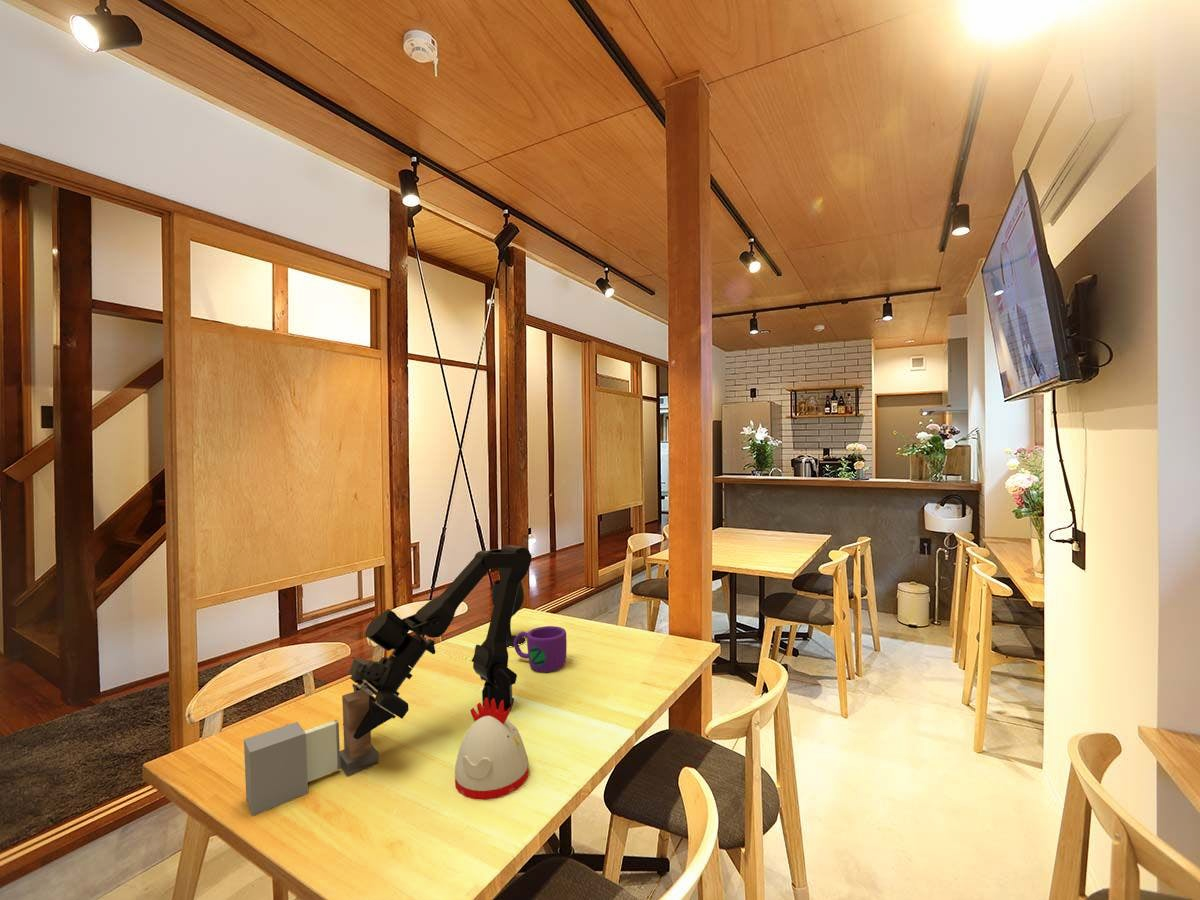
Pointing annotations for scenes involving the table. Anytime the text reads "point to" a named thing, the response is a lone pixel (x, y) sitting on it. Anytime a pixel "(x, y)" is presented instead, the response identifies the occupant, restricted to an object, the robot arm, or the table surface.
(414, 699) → the table surface
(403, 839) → the table surface
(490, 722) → the kitchen timer
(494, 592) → the wine glass
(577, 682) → the table surface
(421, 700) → the table surface
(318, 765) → the pocket door
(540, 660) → the mug
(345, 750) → the wooden post on base
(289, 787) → the pocket wall
